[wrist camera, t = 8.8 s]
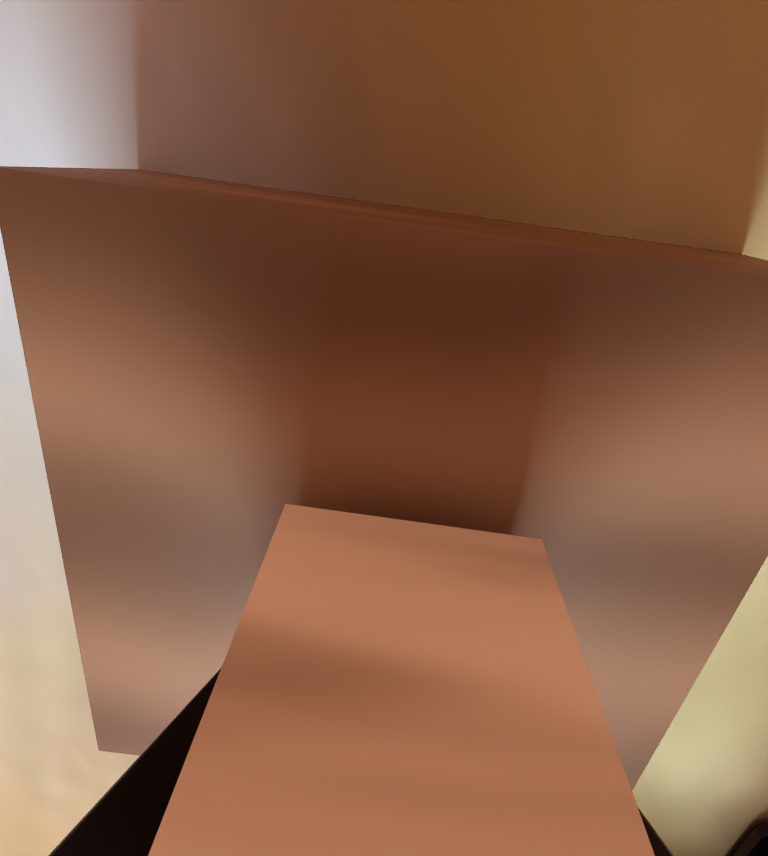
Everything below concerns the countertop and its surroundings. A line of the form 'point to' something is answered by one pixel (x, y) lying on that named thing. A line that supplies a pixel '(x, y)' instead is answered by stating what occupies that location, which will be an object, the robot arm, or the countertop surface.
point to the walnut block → (382, 416)
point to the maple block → (402, 706)
